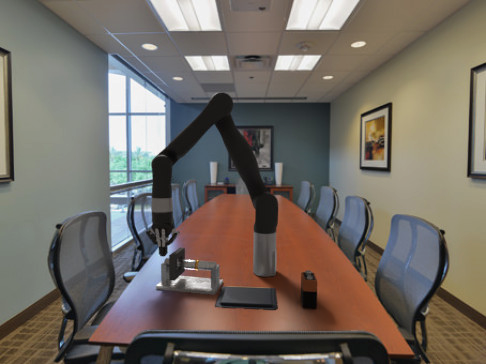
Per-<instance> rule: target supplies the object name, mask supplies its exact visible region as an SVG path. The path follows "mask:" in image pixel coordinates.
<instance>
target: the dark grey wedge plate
mask: <svg viewBox="0 0 486 364" xmlns="http://www.w3.org/2000/svg"><path fill="white" fill-rule="evenodd" d="M168 258H169V280H174V281H175V280H176V279H177V278H178V277H179V276H182V274H184V273H185V272H186V269H184V268H177V259H186V247H178V248H177V249H176V250H175V251H172V253H170V254H169V256H168Z"/></svg>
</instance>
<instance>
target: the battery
mask: <svg viewBox="0 0 486 364" xmlns="http://www.w3.org/2000/svg"><path fill="white" fill-rule="evenodd" d="M300 299H301V301H300V302H301V306H302V308H303V309H310V310H317V307H318V280H317V277H316V273H314V272H313V271H311V270H307V269H306V270H305V271H302V272H301V274H300Z"/></svg>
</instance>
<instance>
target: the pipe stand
mask: <svg viewBox="0 0 486 364" xmlns="http://www.w3.org/2000/svg"><path fill="white" fill-rule="evenodd" d="M177 268H184V269H185V270H195V271H206V272H207V271H208V272H209V271H210V277H197V276H190V275H188V276H186V275H180V276H179V277H178V278H177V279H176V280H175V281H174V280H169V257H166V258H165V259H164V261H163V262H162V263H161V264H160V269H161V270H160V278H161V279H160V280H161V281H160V282H158V283H157V284H156V285H155V290H161V291H172V292H179V293H181V292H182V293H189V292H191V293H192V294H199V293H200V294H202V295H208V294H209V295H210V296H211V295H212V296H216V295H215V294H217V293H218V291H220V289H221V288H222V285H223V283H224V279H220V273H221V272H220V269H221V268H220V264H217V261H209V260H201V259H196V260H195V259H187V258H185V259H177Z"/></svg>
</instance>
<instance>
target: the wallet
mask: <svg viewBox="0 0 486 364" xmlns="http://www.w3.org/2000/svg"><path fill="white" fill-rule="evenodd" d="M219 292H220V293H219ZM219 292H218V296H217V298H216V301H215V304H214V307H215V308H216V307H222V308H221V309H236V308H244V309H243V310H259V309H263V310H262V311H264V310H265V311H276V309H277V310H278V307H279V306H278V305H277V304H278V299H277V297H278V296H277V289H276V288H275V287H259V286H258V287H256V286H255V287H254V286H235V285H233V286H232V285H231V286H230V285H226V286H225V285H224V286H222V285H221V287H220V289H219Z"/></svg>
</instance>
